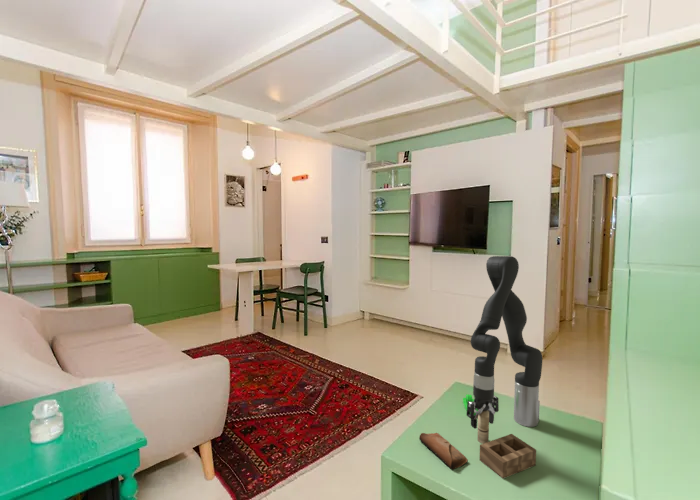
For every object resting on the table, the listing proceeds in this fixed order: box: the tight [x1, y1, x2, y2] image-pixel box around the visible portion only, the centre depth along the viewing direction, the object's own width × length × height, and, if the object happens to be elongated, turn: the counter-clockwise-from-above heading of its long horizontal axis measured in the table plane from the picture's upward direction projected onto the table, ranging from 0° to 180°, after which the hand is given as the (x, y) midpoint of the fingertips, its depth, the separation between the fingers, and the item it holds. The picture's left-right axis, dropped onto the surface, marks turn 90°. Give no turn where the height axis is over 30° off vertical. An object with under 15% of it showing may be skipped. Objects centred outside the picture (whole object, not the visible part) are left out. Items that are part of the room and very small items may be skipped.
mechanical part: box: [462, 394, 478, 415], centre depth 153 cm, size 12×6×8 cm, turn 171°
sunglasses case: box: [418, 432, 469, 470], centre depth 122 cm, size 18×7×7 cm
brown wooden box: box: [479, 433, 537, 480], centre depth 117 cm, size 16×10×6 cm, turn 114°
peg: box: [477, 410, 490, 444], centre depth 129 cm, size 4×4×12 cm
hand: (482, 425), depth 129 cm, fingers open, 8 cm apart
